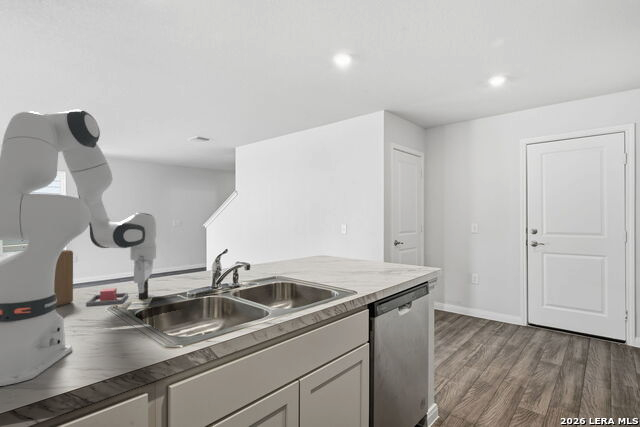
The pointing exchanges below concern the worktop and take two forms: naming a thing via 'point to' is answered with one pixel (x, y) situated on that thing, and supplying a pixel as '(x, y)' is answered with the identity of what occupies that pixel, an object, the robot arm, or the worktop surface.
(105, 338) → the worktop surface
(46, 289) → the robot arm
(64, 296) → the wooden block
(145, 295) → the pawn
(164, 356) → the worktop surface
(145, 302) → the board
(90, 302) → the dice tray
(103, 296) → the red cube
